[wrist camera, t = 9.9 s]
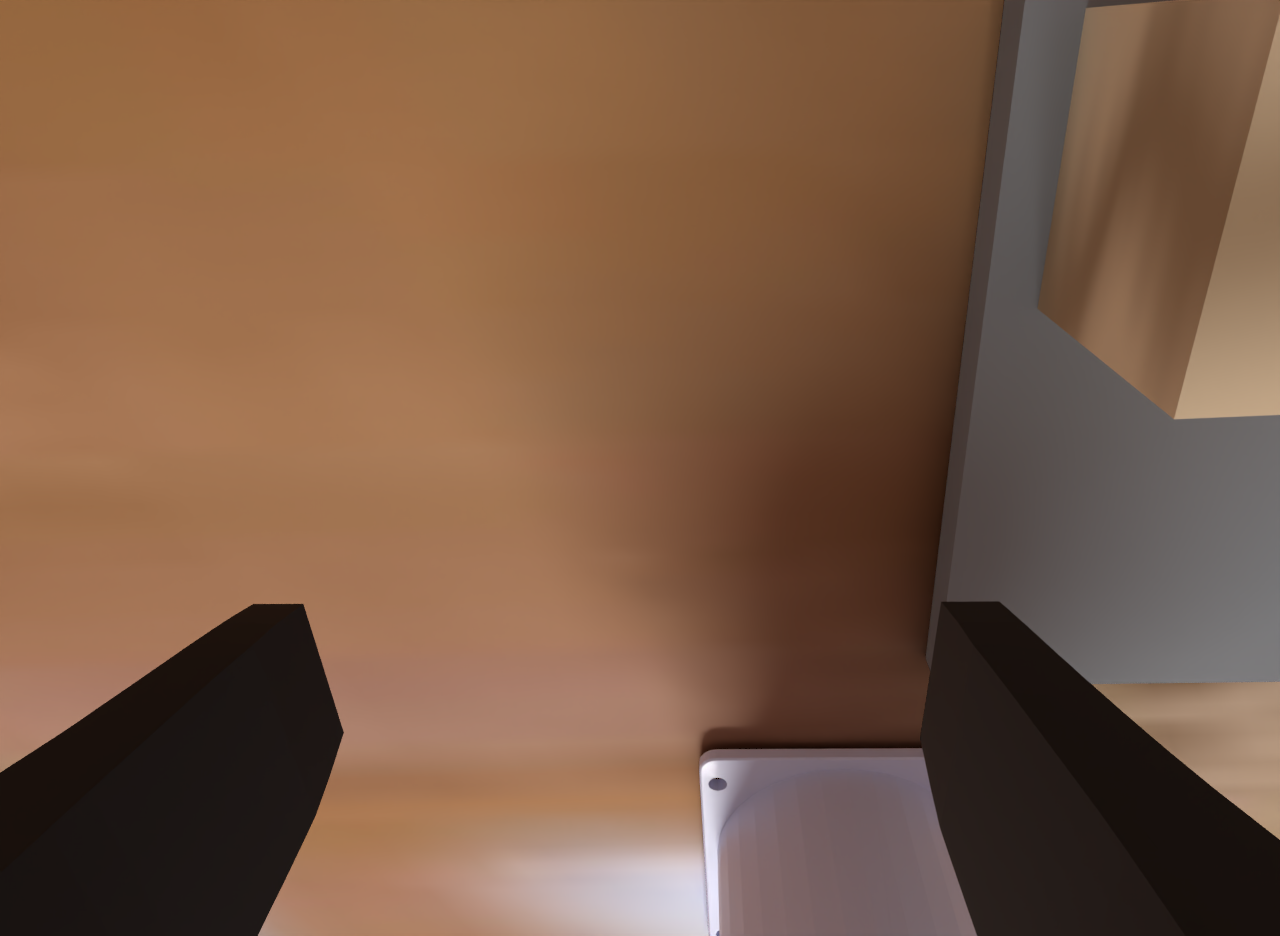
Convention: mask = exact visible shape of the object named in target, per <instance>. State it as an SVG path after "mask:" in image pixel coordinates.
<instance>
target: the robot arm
mask: <svg viewBox="0 0 1280 936" xmlns="http://www.w3.org/2000/svg"><path fill="white" fill-rule="evenodd" d="M343 733H344V732H343V729H342V726H341V723H340V719H339V716H338V713H337V710H336V707H335V703H334V700H333V697H332V694H331V691H330V688H329V684H328V681H327V678H326V675H325V672H324V669H323V665H322V662H321V659H320V656H319V653H318V649H317V646H316V643H315V640H314V637H313V634H312V630H311V627H310V624H309V621H308V618H307V615H306V611H305V608H304V605H303V604H253V605H251V606H249V607H248V608H246V609H244V610H243V611H241V612H239V613H238V614H236V615H234V616H233V617H231V618H230V619H228V620H226V621H225V622H223V623H222V624H220V625H219V626H217V627H216V628H214V629H213V630H211V631H210V632H208V633H207V634H205V635H204V636H202V637H201V638H199V639H198V640H196V641H195V642H193V643H192V644H190V645H189V646H187V647H186V648H185V649H183V650H182V651H180V652H179V653H177V654H176V655H174V656H173V657H172V658H170V659H169V660H167V661H166V662H164V663H163V664H161V665H160V666H159V667H157V668H156V669H154V670H153V671H151V672H150V673H148V674H147V675H146V676H144V677H143V678H141V679H140V680H138V681H137V682H135V683H134V684H132V685H131V686H130V687H128V688H127V689H125V690H124V691H122V692H121V693H119V694H118V695H116V696H115V697H114V698H112V699H111V700H109V701H108V702H106V703H105V704H103V705H102V706H100V707H99V708H98V709H96V710H95V711H93V712H92V713H90V714H89V715H87V716H86V717H84V718H83V719H82V720H80V721H79V722H77V723H76V724H74V725H73V726H71V727H70V728H68V729H67V730H65V731H64V732H62V733H61V734H59V735H58V736H56V737H55V738H53V739H52V740H50V741H49V742H47V743H45V744H44V745H42V746H41V747H39V748H38V749H36V750H35V751H33V752H32V753H30V754H28V755H27V756H25V757H24V758H22V759H21V760H19V761H18V762H16V763H14V764H13V765H11V766H10V767H8V768H7V769H5V770H4V771H2V772H1V773H0V936H258V934H259V932H260V930H261V928H262V926H263V924H264V921H265V919H266V917H267V915H268V913H269V911H270V909H271V907H272V905H273V903H274V901H275V899H276V897H277V895H278V893H279V891H280V889H281V887H282V885H283V883H284V881H285V879H286V877H287V875H288V873H289V870H290V868H291V866H292V864H293V862H294V860H295V858H296V856H297V854H298V852H299V850H300V848H301V846H302V843H303V841H304V839H305V837H306V835H307V833H308V831H309V829H310V826H311V824H312V822H313V820H314V818H315V816H316V813H317V810H318V807H319V805H320V802H321V799H322V796H323V793H324V791H325V788H326V785H327V782H328V779H329V777H330V773H331V770H332V767H333V764H334V761H335V758H336V755H337V752H338V749H339V745H340V742H341V739H342V736H343ZM920 740H921V745H922V748H865V749H715V750H709V751H707V752H705V753H704V754H703V755H702V756H701V757H700V761H699V774H700V791H701V808H702V825H703V842H704V859H705V877H706V894H707V911H708V928H709V936H1280V840H1279V839H1278V838H1277V837H1275V836H1274V835H1273V834H1271V833H1270V832H1269V831H1268V830H1266V829H1265V828H1264V827H1262V826H1261V825H1260V824H1259V823H1257V822H1256V821H1255V820H1254V819H1252V818H1251V817H1250V816H1248V815H1247V814H1246V813H1245V812H1243V811H1242V810H1241V809H1239V808H1238V807H1237V806H1236V805H1234V804H1233V803H1232V802H1231V801H1229V800H1228V799H1227V798H1225V797H1224V796H1223V795H1222V794H1220V793H1219V792H1218V791H1217V790H1215V789H1214V788H1213V787H1211V786H1210V785H1209V784H1208V783H1207V782H1205V781H1204V780H1203V779H1202V778H1200V777H1199V776H1198V775H1197V774H1196V773H1194V772H1193V771H1192V770H1191V769H1189V768H1188V767H1187V766H1186V765H1185V764H1183V763H1182V762H1181V761H1180V760H1179V759H1177V758H1176V757H1175V756H1174V755H1172V754H1171V753H1170V752H1169V751H1168V750H1167V749H1165V748H1164V747H1163V746H1162V745H1161V744H1159V743H1158V742H1157V741H1156V740H1155V739H1154V738H1152V737H1151V736H1150V735H1149V734H1148V733H1147V732H1145V731H1144V730H1143V729H1142V728H1141V727H1140V726H1138V725H1137V724H1136V723H1135V722H1134V721H1133V720H1131V719H1130V718H1129V717H1128V716H1127V715H1126V714H1124V713H1123V712H1122V711H1121V710H1120V709H1119V708H1118V707H1117V706H1115V705H1114V704H1113V703H1112V702H1111V701H1110V700H1109V699H1107V698H1106V697H1105V696H1104V695H1103V694H1102V693H1101V692H1100V691H1098V690H1097V689H1096V688H1095V687H1094V686H1093V685H1092V684H1091V683H1089V682H1088V681H1087V680H1086V679H1085V678H1084V677H1083V676H1082V675H1081V674H1079V673H1078V672H1077V671H1076V670H1075V669H1074V668H1073V667H1072V666H1071V665H1069V664H1068V663H1067V662H1066V661H1065V660H1064V659H1063V658H1062V657H1061V656H1060V655H1058V654H1057V653H1056V652H1055V651H1054V650H1053V649H1052V648H1051V647H1050V646H1049V645H1047V644H1046V643H1045V642H1044V641H1043V640H1042V639H1041V638H1040V637H1039V636H1038V635H1036V634H1035V633H1034V632H1033V631H1032V630H1031V629H1030V628H1029V627H1028V626H1027V625H1025V624H1024V623H1023V622H1022V621H1021V620H1020V619H1019V618H1018V617H1017V616H1015V615H1014V614H1013V613H1012V612H1011V611H1010V610H1009V609H1007V608H1006V607H1005V606H1004V605H1003V604H1002V603H1001V602H999V601H968V602H941V606H940V612H939V619H938V625H937V632H936V638H935V645H934V651H933V658H932V664H931V671H930V677H929V684H928V690H927V697H926V703H925V709H924V716H923V722H922V729H921V735H920ZM713 778H722V779H713Z"/></svg>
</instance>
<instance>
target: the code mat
mask: <svg viewBox="0 0 1280 936" xmlns="http://www.w3.org/2000/svg"><path fill="white" fill-rule="evenodd" d="M1161 1H1173V0H1004V8H1003V17H1002V25H1001V33H1000V42H999V50H998V58H997V67H996V75H995V83H994V92H993V100H992V108H991V117H990V125H989V133H988V142H987V150H986V158H985V167H984V175H983V184H982V192H981V200H980V209H979V217H978V225H977V234H976V242H975V250H974V259H973V267H972V275H971V284H970V292H969V300H968V309H967V317H966V325H965V334H964V342H963V350H962V359H961V367H960V375H959V384H958V392H957V400H956V409H955V417H954V425H953V434H952V442H951V450H950V459H949V467H948V476H947V484H946V492H945V501H944V509H943V517H942V526H941V534H940V542H939V551H938V559H937V567H936V576H935V584H934V592H933V601H932V609H931V617H930V626H929V634H928V642H927V651H926V661H927V663H928V666H929V669H930V671H931V664H932V658H933V651H934V645H935V638H936V632H937V625H938V619H939V612H940V606H941V602H968V601H999V602H1001V603H1002V604H1003V605H1004V606H1005V607H1006V608H1007V609H1009V610H1010V611H1011V612H1012V613H1013V614H1014V615H1015V616H1017V617H1018V618H1019V619H1020V620H1021V621H1022V622H1023V623H1024V624H1025V625H1027V626H1028V627H1029V628H1030V629H1031V630H1032V631H1033V632H1034V633H1035V634H1036V635H1038V636H1039V637H1040V638H1041V639H1042V640H1043V641H1044V642H1045V643H1046V644H1047V645H1049V646H1050V647H1051V648H1052V649H1053V650H1054V651H1055V652H1056V653H1057V654H1058V655H1060V656H1061V657H1062V658H1063V659H1064V660H1065V661H1066V662H1067V663H1068V664H1069V665H1071V666H1072V667H1073V668H1074V669H1075V670H1076V671H1077V672H1078V673H1079V674H1081V675H1082V676H1083V677H1084V678H1085V679H1086V680H1087V681H1088V682H1089V683H1091V684H1121V683H1205V682H1280V415H1267V416H1242V417H1218V418H1193V419H1173V418H1172V417H1171V416H1169V415H1168V414H1167V413H1166V412H1164V411H1163V410H1162V409H1161V408H1159V407H1158V406H1157V405H1156V404H1154V403H1153V402H1152V401H1151V400H1150V399H1148V398H1147V397H1146V396H1145V395H1143V394H1142V393H1141V392H1140V391H1138V390H1137V389H1136V388H1135V387H1133V386H1132V385H1131V384H1130V383H1129V382H1127V381H1126V380H1125V379H1124V378H1122V377H1121V376H1120V375H1119V374H1117V373H1116V372H1115V371H1114V370H1112V369H1111V368H1110V367H1109V366H1108V365H1106V364H1105V363H1104V362H1103V361H1101V360H1100V359H1099V358H1098V357H1096V356H1095V355H1094V354H1093V353H1091V352H1090V351H1089V350H1088V349H1087V348H1085V347H1084V346H1083V345H1082V344H1080V343H1079V342H1078V341H1077V340H1075V339H1074V338H1073V337H1072V336H1070V335H1069V334H1068V333H1067V332H1066V331H1064V330H1063V329H1062V328H1061V327H1059V326H1058V325H1057V324H1056V323H1054V322H1053V321H1052V320H1051V319H1049V318H1048V317H1047V316H1046V315H1045V314H1043V313H1042V312H1041V311H1040V310H1038V309H1037V308H1038V302H1039V296H1040V290H1041V284H1042V277H1043V271H1044V265H1045V259H1046V253H1047V246H1048V240H1049V234H1050V228H1051V222H1052V215H1053V209H1054V203H1055V197H1056V191H1057V184H1058V178H1059V172H1060V166H1061V160H1062V153H1063V147H1064V141H1065V135H1066V129H1067V122H1068V116H1069V110H1070V104H1071V98H1072V91H1073V85H1074V79H1075V73H1076V67H1077V60H1078V54H1079V48H1080V42H1081V35H1082V29H1083V23H1084V17H1085V11H1086V8H1092V7H1103V6H1115V5H1126V4H1138V3H1150V2H1161Z"/></svg>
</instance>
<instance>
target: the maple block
mask: <svg viewBox="0 0 1280 936" xmlns="http://www.w3.org/2000/svg"><path fill="white" fill-rule="evenodd" d="M1037 309H1038V310H1040V311H1041V312H1042V313H1043V314H1045V315H1046V316H1047V317H1048V318H1049V319H1051V320H1052V321H1053V322H1054V323H1056V324H1057V325H1058V326H1059V327H1061V328H1062V329H1063V330H1064V331H1066V332H1067V333H1068V334H1069V335H1070V336H1072V337H1073V338H1074V339H1075V340H1077V341H1078V342H1079V343H1080V344H1082V345H1083V346H1084V347H1085V348H1087V349H1088V350H1089V351H1090V352H1091V353H1093V354H1094V355H1095V356H1096V357H1098V358H1099V359H1100V360H1101V361H1103V362H1104V363H1105V364H1106V365H1108V366H1109V367H1110V368H1111V369H1112V370H1114V371H1115V372H1116V373H1117V374H1119V375H1120V376H1121V377H1122V378H1124V379H1125V380H1126V381H1127V382H1129V383H1130V384H1131V385H1132V386H1133V387H1135V388H1136V389H1137V390H1138V391H1140V392H1141V393H1142V394H1143V395H1145V396H1146V397H1147V398H1148V399H1150V400H1151V401H1152V402H1153V403H1154V404H1156V405H1157V406H1158V407H1159V408H1161V409H1162V410H1163V411H1164V412H1166V413H1167V414H1168V415H1169V416H1171V417H1172V418H1173V419H1193V418H1218V417H1242V416H1267V415H1280V0H1173V1H1161V2H1150V3H1138V4H1126V5H1115V6H1103V7H1092V8H1086V11H1085V17H1084V23H1083V29H1082V35H1081V42H1080V48H1079V54H1078V60H1077V67H1076V73H1075V79H1074V85H1073V91H1072V98H1071V104H1070V110H1069V116H1068V122H1067V129H1066V135H1065V141H1064V147H1063V153H1062V160H1061V166H1060V172H1059V178H1058V184H1057V191H1056V197H1055V203H1054V209H1053V215H1052V222H1051V228H1050V234H1049V240H1048V246H1047V253H1046V259H1045V265H1044V271H1043V277H1042V284H1041V290H1040V296H1039V302H1038V308H1037Z"/></svg>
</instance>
